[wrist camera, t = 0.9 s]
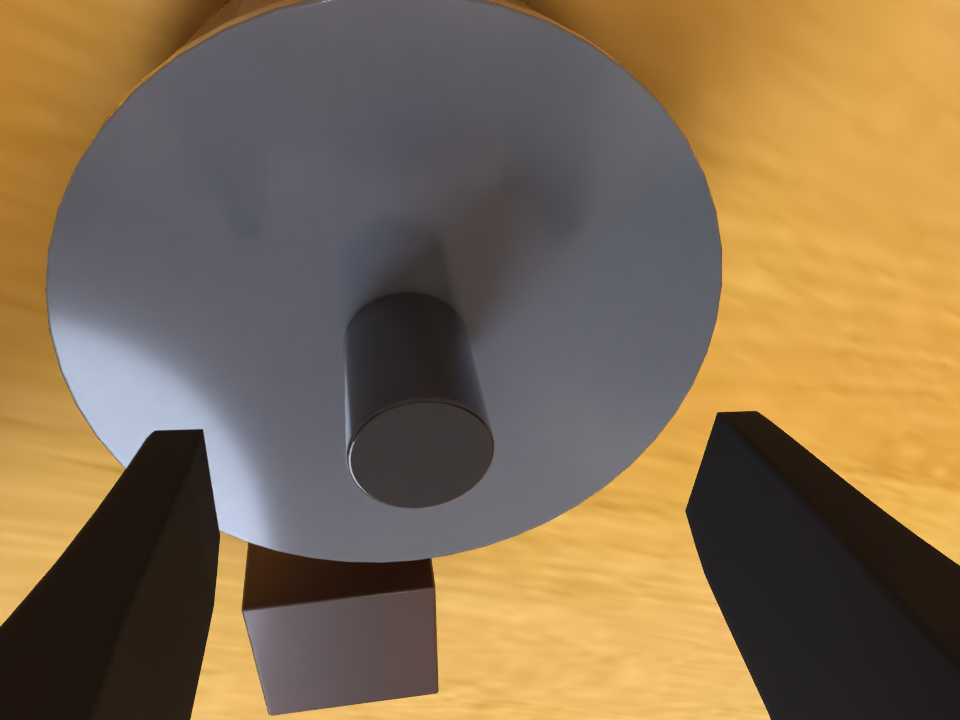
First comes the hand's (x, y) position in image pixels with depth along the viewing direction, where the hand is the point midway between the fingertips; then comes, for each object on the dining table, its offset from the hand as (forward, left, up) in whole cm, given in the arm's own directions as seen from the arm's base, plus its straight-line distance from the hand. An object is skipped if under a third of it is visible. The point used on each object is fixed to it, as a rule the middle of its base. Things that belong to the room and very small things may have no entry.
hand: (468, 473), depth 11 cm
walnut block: (-3, -12, -10) cm, 16 cm away
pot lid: (-1, -1, -5) cm, 5 cm away
